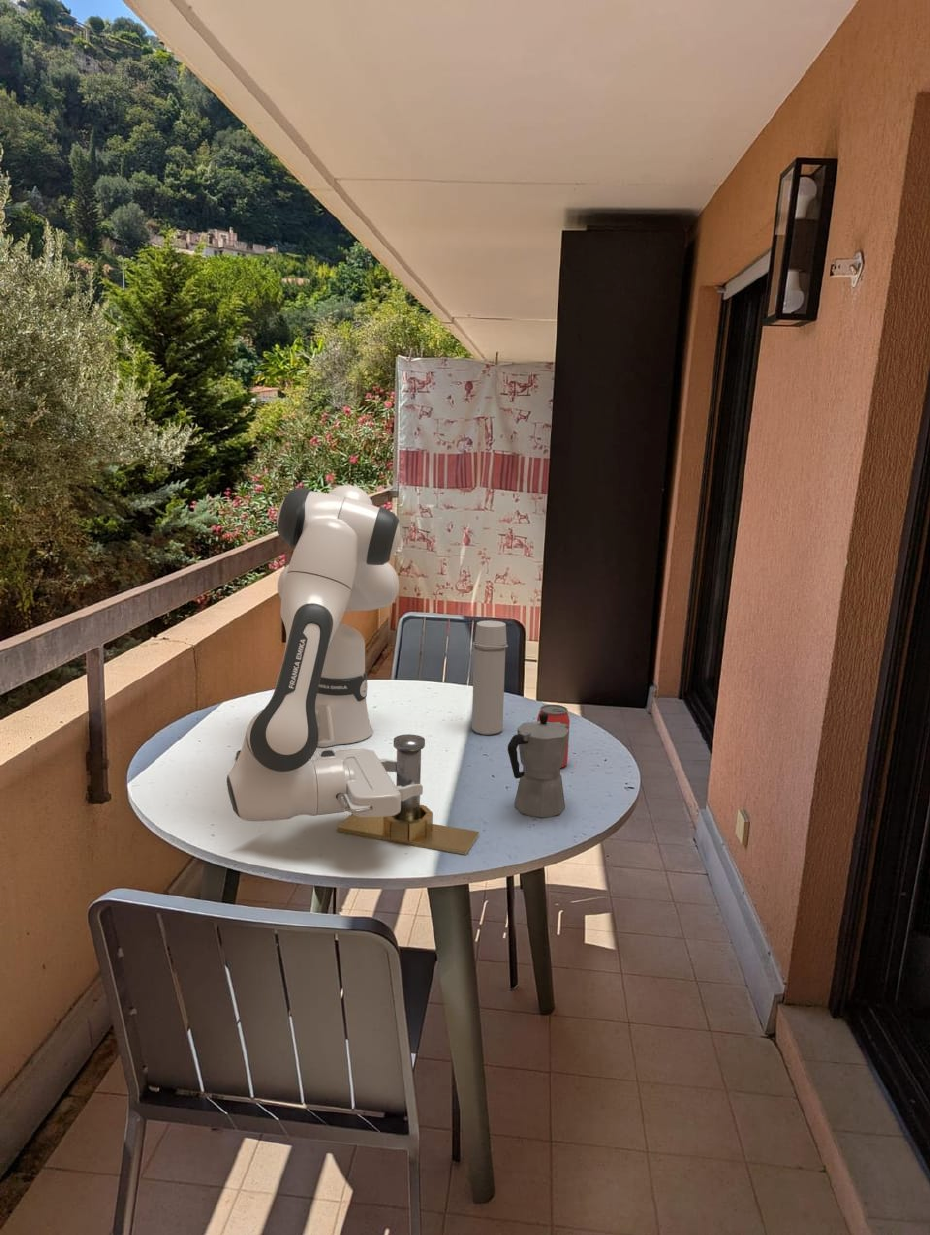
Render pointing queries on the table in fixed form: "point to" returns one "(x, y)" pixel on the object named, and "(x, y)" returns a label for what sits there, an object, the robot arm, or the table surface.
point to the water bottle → (488, 677)
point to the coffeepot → (539, 766)
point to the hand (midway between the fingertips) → (413, 776)
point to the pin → (409, 772)
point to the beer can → (557, 720)
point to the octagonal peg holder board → (412, 832)
